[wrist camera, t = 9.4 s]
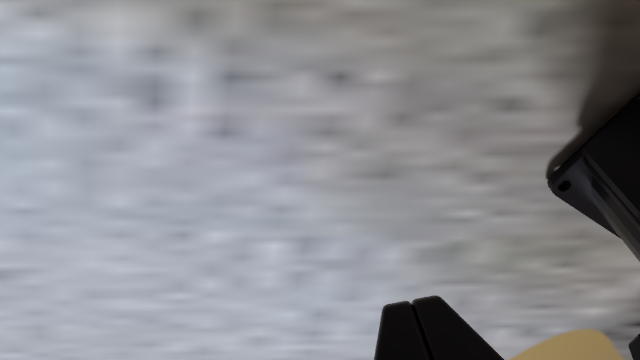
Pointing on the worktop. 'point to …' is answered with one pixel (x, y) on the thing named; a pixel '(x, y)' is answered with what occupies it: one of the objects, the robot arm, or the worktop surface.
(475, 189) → the worktop surface
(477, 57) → the worktop surface
